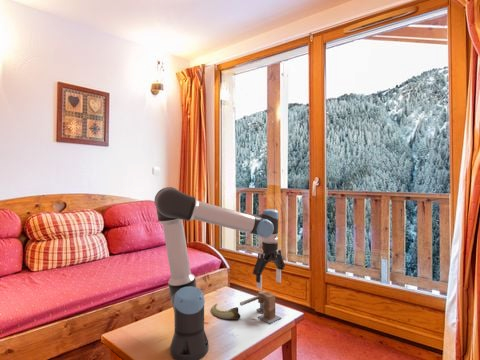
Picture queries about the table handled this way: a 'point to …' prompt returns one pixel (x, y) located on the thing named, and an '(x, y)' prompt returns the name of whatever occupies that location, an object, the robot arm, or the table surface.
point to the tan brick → (267, 304)
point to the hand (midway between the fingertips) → (269, 285)
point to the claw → (226, 313)
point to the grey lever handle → (254, 300)
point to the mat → (268, 319)
